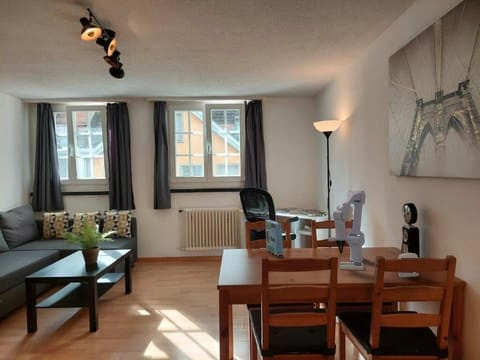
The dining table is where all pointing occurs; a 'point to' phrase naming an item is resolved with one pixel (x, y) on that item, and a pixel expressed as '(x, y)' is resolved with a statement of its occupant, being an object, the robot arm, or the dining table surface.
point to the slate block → (357, 262)
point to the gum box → (274, 237)
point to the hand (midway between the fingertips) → (341, 253)
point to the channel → (350, 266)
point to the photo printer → (408, 255)
